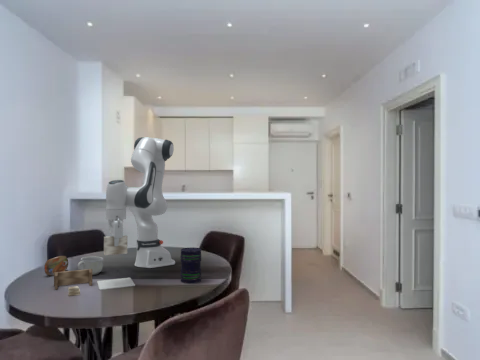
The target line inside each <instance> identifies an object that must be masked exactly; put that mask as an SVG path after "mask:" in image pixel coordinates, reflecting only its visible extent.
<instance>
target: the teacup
mask: <svg viewBox="0 0 480 360" xmlns="http://www.w3.org/2000/svg"><path fill="white" fill-rule="evenodd" d="M76 267H77V269H78V270H86V269H92V276H94V275H98V274H99V273H100V272H102V270H103V267H104V257H102V256H98V255H97V256H95V255H91V256H84V257H81V258H80V261H79V262H78V263H77V266H76Z"/></svg>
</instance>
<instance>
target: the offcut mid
mask: <svg viewBox="0 0 480 360" xmlns="http://www.w3.org/2000/svg"><path fill="white" fill-rule="evenodd" d="M68 292H69V291H68ZM79 293H80V294H81V289H80V288H79V290H78V291H72V292H69V295H72V294H79Z"/></svg>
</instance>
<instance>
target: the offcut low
mask: <svg viewBox="0 0 480 360" xmlns="http://www.w3.org/2000/svg"><path fill="white" fill-rule="evenodd" d="M67 293H68V295H67V296H68V297H74V296H80V295H81V292H80V293H79V294H72V295H69V291H68V292H67Z"/></svg>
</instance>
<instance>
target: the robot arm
mask: <svg viewBox="0 0 480 360" xmlns="http://www.w3.org/2000/svg"><path fill="white" fill-rule="evenodd" d="M133 144H134V145H133V152H132V154H131V158H130V162H131V165H132V167H133V168H134V169H135V170H136V171H138V172H139V173H140V172H141V173H142V174H143V177H142V182H141V186H139V187H131V186H130V187H129V186H128V185H126V181H125V180H123V179H115V180H110V181H109V182H107V186H106V190H105V191H106V192H105V202H106V207H105V220H107V221H108V222H107V223H108V231H109V234H111V236H113V237H114V246H118V245H119V238H122V237H123V236H124V232H123V231H124V228H123V227H124V225H123V223H124V220H126V218H127V208H128V210H129V211H130V212H131V213H132V214H133V217H134V219H135V222H136V227H137V228H136V229H137V239H136V245H135V246H136V248H135V249H136V257H135V262H134V266H135V267H138V268H147V269H151V268H152V269H153V268H160V267H167V266H173V265H175V264H176V261H175V259H172V256H171V253H170V251H169V250H167V249H166V248H165V247H163V246H162V245H163V244H164V240H161V239H159V238H158V232H159V231H158V227H159V226H158V224H157V223H156V222H155V220H154V219H153V217H154V216H155V217H157V216H161V215H164V214H165V213H166V212H167V210H168V202H167V200H166V199H165V197H164V194H163V182H164V181H163V180H164V175H165V170H166V169H165V168H166V161H168V160H169V159H170V158H171V157H172V156H173V153H174V150H175V149H174V143H173V142H172V140H169V139H163V138H159V137H158V138H157V137H148V136H145V137H138V138H136V140H135V141H134V143H133Z"/></svg>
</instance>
